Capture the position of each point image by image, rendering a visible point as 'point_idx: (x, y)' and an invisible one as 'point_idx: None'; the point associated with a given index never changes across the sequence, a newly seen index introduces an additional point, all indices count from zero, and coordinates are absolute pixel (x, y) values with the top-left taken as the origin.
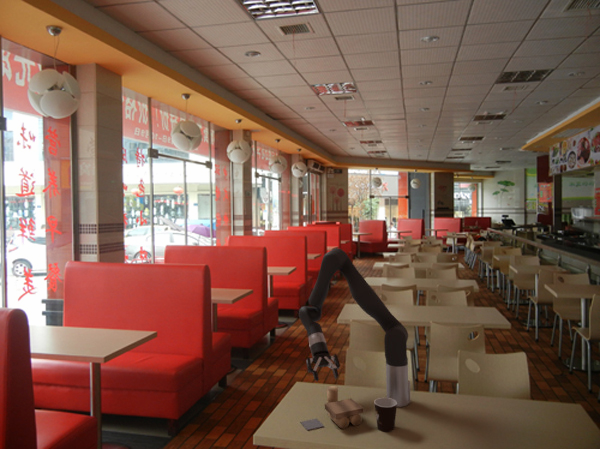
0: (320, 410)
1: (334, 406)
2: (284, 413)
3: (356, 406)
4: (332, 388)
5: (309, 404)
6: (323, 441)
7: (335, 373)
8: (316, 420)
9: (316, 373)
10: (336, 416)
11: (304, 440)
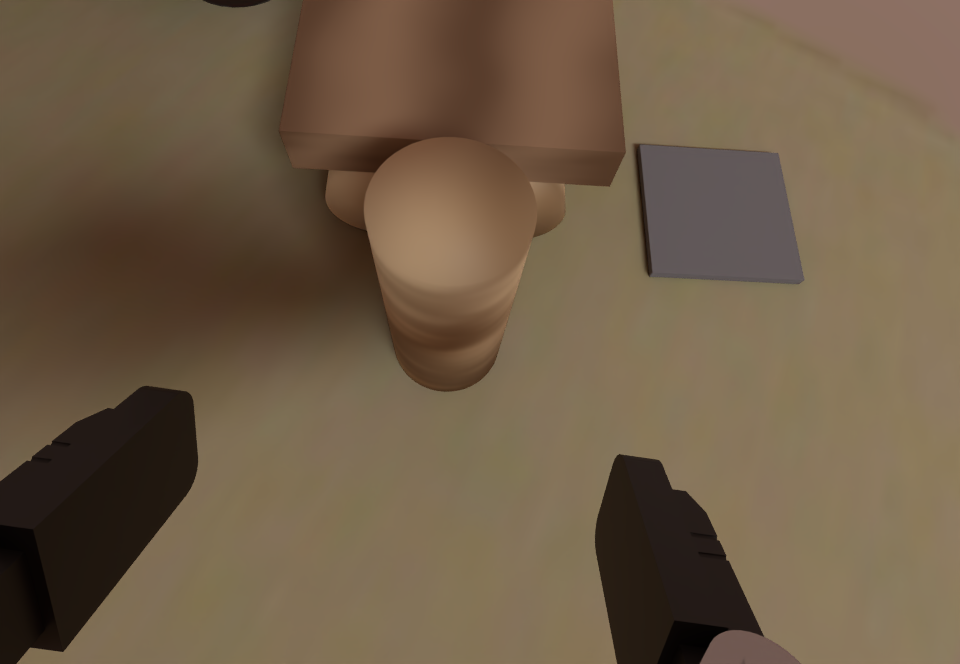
0: (546, 421)
1: (553, 62)
2: (916, 530)
3: None
4: (458, 193)
5: (602, 625)
6: (706, 12)
7: (131, 431)
8: (665, 242)
9: (684, 558)
10: None
11: (821, 68)
